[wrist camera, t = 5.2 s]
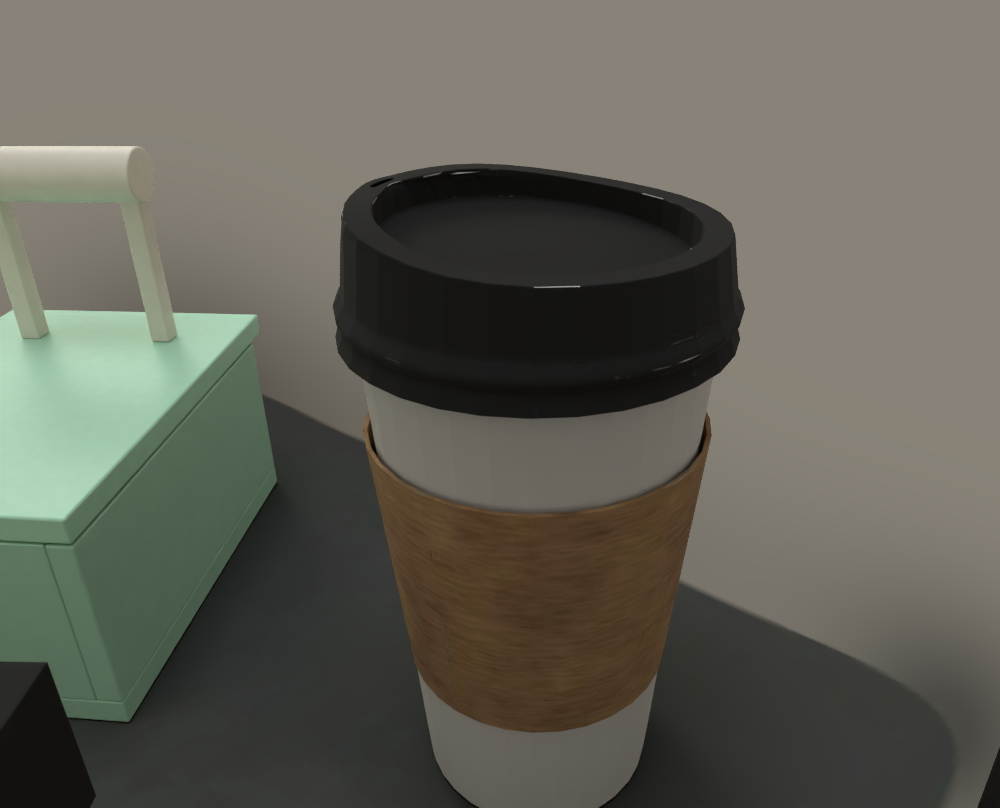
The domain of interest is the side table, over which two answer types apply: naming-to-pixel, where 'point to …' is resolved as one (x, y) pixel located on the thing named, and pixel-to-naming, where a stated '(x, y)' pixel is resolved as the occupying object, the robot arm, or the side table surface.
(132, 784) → the side table surface
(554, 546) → the coffee cup
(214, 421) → the green box base
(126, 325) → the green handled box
